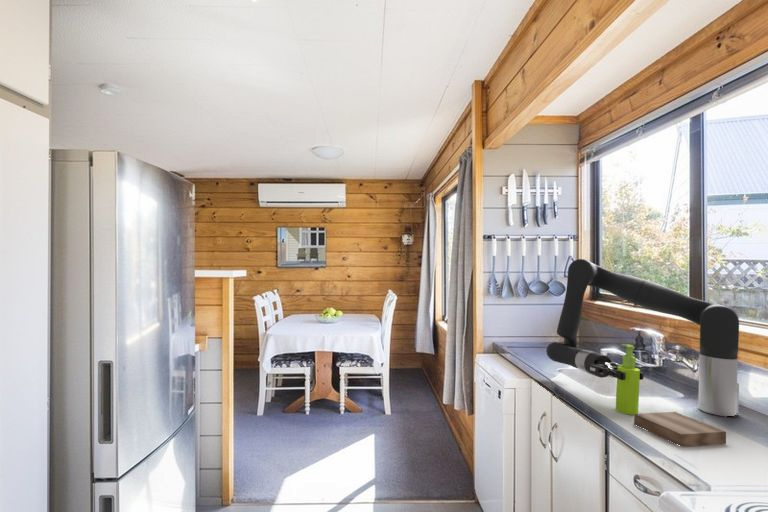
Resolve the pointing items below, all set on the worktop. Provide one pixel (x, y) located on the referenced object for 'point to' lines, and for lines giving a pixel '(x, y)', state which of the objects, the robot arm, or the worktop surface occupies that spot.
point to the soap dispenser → (628, 384)
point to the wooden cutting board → (680, 429)
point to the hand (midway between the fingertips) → (633, 376)
